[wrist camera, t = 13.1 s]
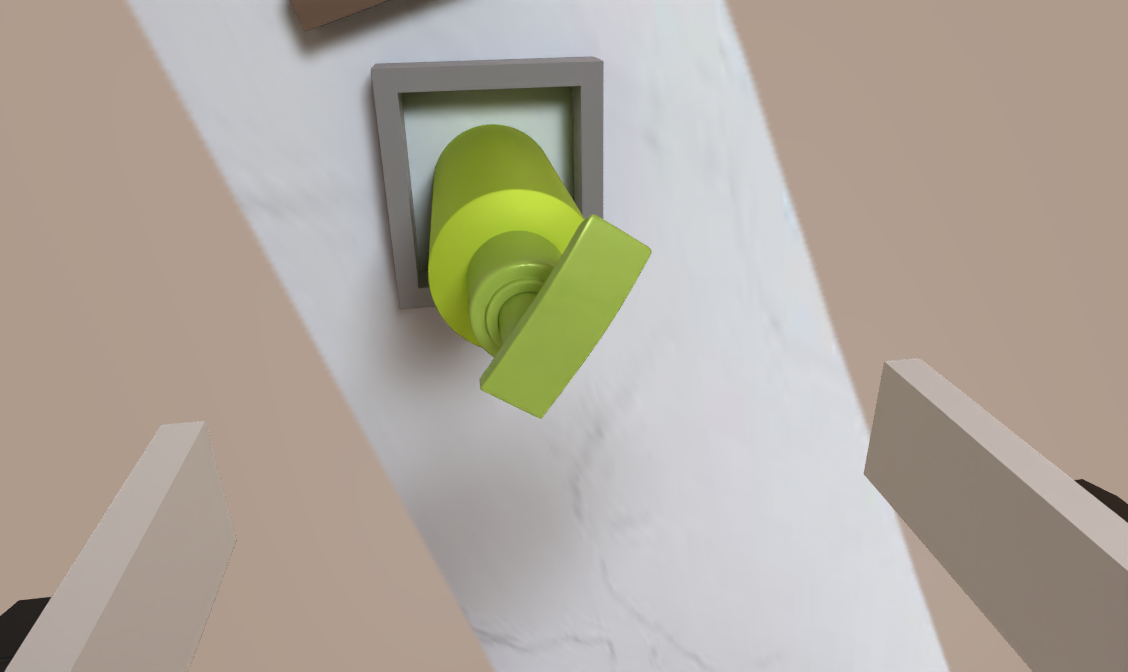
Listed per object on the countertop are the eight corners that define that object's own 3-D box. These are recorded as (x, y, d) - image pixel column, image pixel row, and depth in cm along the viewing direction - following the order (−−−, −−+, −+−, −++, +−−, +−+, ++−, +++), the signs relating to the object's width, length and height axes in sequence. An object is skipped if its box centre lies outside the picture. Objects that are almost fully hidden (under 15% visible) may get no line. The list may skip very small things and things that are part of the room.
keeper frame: (375, 63, 34) (370, 69, 32) (593, 56, 35) (603, 61, 33) (402, 290, 39) (399, 309, 37) (594, 277, 40) (603, 294, 38)
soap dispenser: (586, 147, 37) (720, 294, 19) (513, 262, 39) (571, 495, 21) (483, 80, 35) (523, 174, 17) (411, 205, 37) (380, 408, 19)
